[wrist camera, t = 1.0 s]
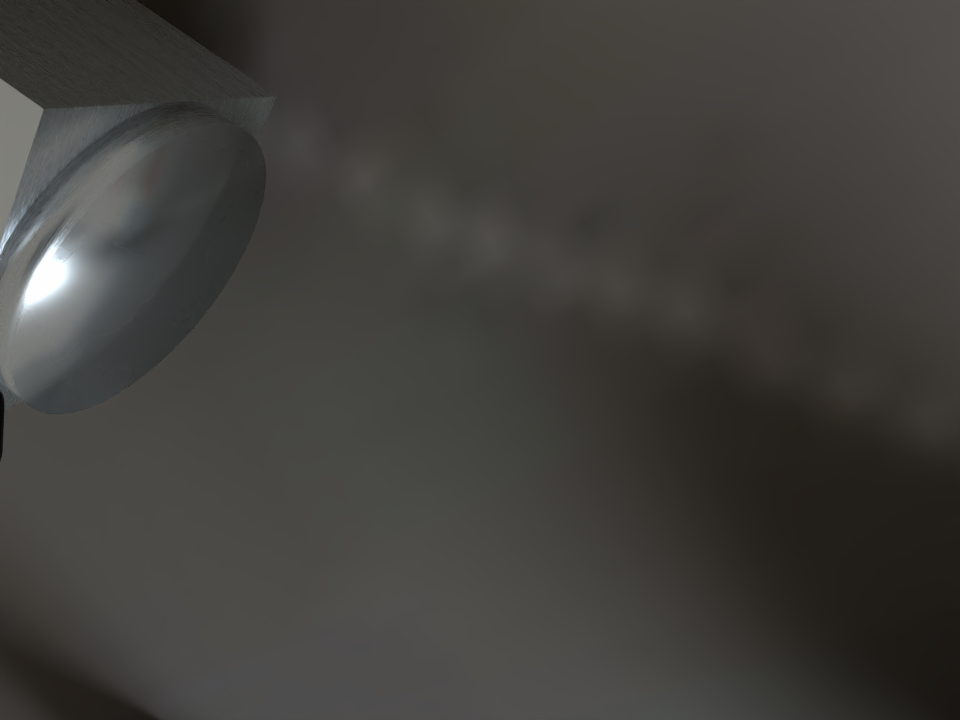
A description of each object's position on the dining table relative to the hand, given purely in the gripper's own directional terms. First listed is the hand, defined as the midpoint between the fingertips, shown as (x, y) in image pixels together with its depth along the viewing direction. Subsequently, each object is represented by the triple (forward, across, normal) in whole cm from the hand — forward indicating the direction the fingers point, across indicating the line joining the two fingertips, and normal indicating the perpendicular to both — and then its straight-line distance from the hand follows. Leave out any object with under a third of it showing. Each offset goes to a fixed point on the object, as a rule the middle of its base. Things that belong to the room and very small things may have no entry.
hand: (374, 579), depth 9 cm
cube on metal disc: (+11, +11, 0) cm, 16 cm away
